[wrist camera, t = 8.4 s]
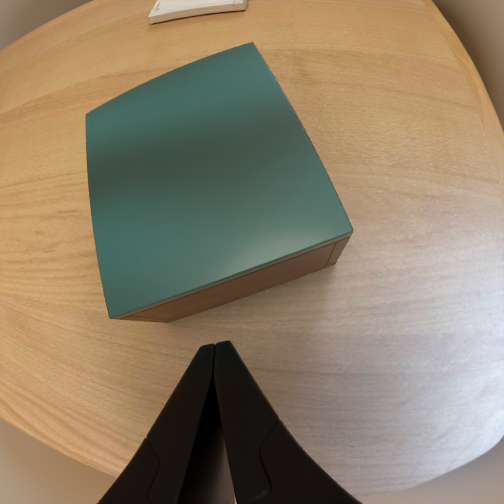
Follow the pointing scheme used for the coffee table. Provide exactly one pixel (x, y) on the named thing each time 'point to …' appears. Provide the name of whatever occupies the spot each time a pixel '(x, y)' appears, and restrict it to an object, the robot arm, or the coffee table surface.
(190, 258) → the lid
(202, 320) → the coffee table surface
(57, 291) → the coffee table surface
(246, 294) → the box
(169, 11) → the hard drive
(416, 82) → the coffee table surface
